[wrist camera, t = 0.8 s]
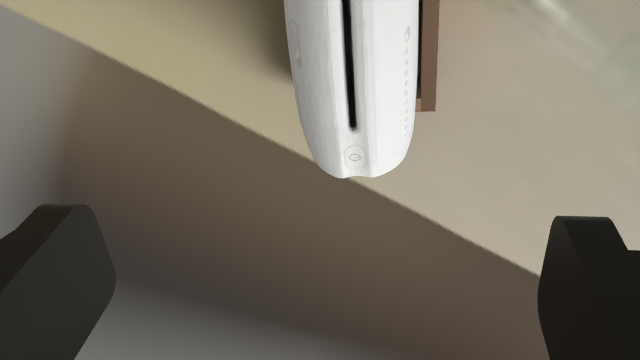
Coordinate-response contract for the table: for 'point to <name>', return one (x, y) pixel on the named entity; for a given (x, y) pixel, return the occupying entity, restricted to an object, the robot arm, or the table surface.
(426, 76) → the brown wooden tray
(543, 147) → the table surface
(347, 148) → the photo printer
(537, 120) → the table surface
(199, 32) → the table surface
